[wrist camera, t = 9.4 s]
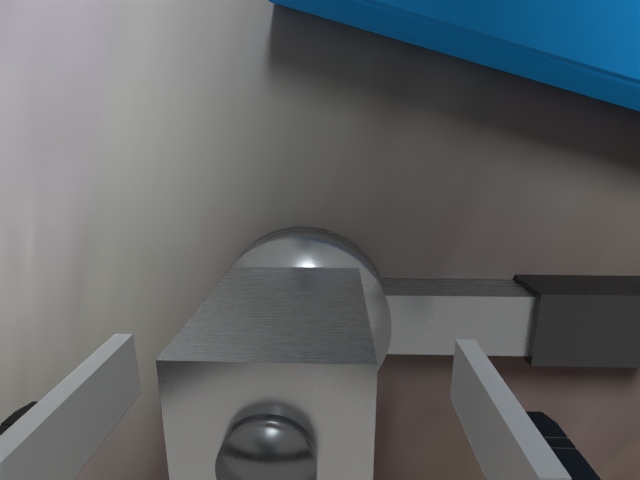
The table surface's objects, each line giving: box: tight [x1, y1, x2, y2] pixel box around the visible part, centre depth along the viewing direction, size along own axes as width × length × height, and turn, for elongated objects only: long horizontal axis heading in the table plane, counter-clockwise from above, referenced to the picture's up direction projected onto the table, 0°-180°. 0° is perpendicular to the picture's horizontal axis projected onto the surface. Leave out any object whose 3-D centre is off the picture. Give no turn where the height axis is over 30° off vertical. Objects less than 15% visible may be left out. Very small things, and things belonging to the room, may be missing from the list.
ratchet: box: [223, 227, 640, 370], centre depth 19 cm, size 9×24×7 cm, turn 90°
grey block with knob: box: [156, 266, 378, 480], centre depth 15 cm, size 6×6×9 cm
